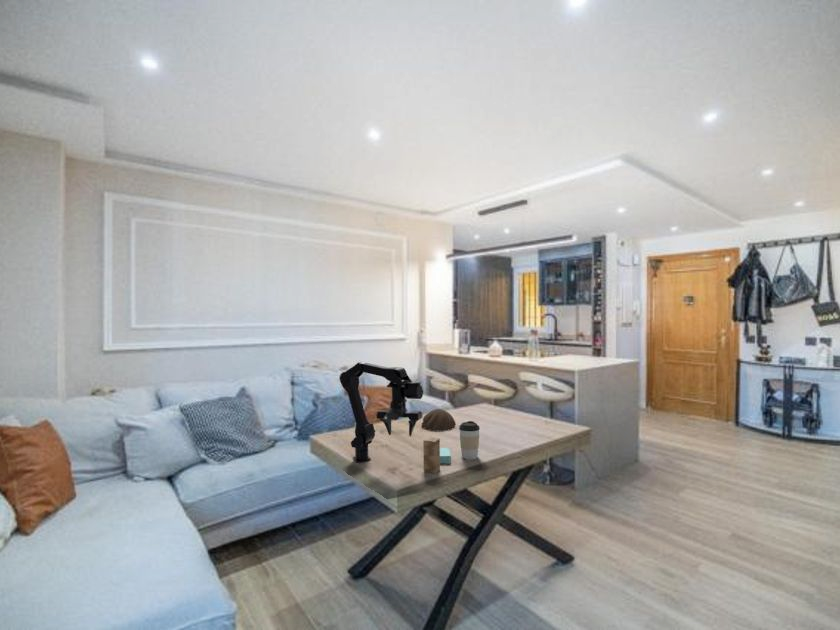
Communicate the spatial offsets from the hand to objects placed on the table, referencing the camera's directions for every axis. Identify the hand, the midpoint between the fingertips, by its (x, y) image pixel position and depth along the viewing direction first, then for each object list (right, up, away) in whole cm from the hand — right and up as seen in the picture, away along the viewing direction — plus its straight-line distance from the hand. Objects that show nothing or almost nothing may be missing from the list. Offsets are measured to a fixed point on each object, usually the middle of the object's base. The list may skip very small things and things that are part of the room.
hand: (400, 435), depth 173 cm
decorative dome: (+19, -13, +62) cm, 67 cm away
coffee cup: (+30, -13, +10) cm, 34 cm away
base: (+16, -13, +8) cm, 22 cm away
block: (+13, -13, -5) cm, 19 cm away
